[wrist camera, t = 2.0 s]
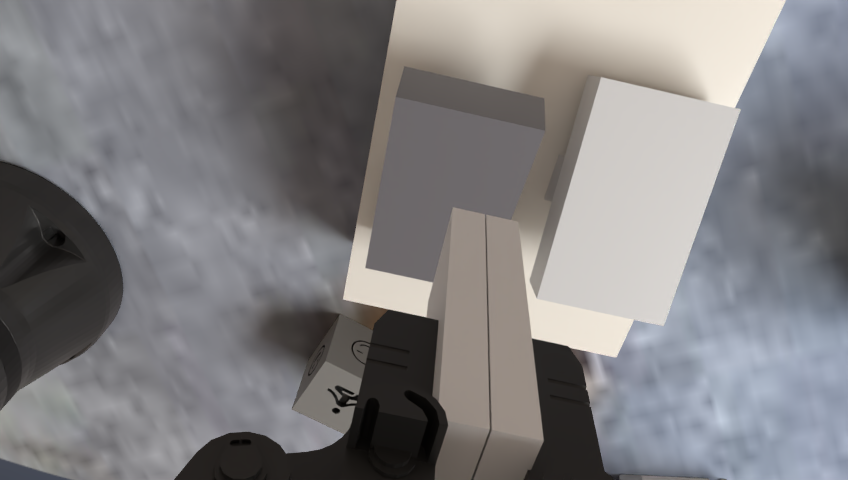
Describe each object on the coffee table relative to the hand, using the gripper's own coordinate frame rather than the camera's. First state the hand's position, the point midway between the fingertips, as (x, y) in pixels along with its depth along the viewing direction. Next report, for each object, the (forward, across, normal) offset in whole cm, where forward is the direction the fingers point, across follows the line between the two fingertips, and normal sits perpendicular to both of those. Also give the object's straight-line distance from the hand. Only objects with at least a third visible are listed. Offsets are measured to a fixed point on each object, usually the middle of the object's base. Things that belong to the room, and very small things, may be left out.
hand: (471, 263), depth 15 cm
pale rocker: (+15, +8, -4) cm, 17 cm away
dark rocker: (+15, 0, -4) cm, 15 cm away
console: (+22, +4, -4) cm, 23 cm away
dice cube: (+23, -3, -23) cm, 32 cm away
